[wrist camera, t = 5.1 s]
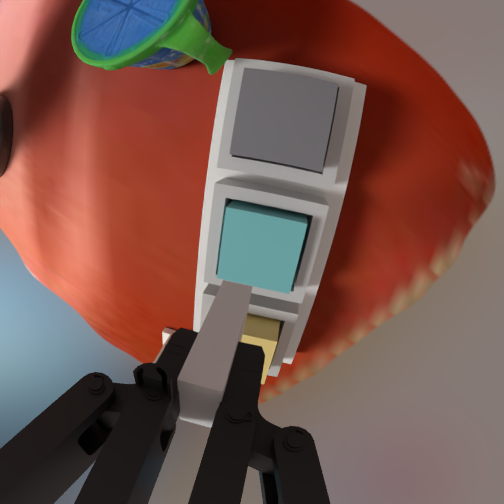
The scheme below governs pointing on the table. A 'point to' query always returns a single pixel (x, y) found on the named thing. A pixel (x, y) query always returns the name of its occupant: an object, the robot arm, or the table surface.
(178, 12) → the snack cup
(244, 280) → the teal button
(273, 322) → the mustard button
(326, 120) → the charcoal button
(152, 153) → the table surface
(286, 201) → the board
